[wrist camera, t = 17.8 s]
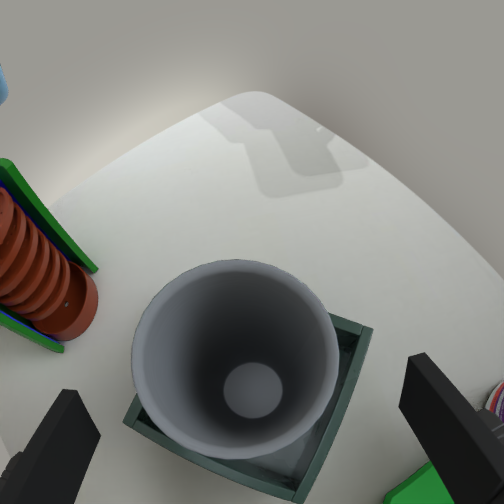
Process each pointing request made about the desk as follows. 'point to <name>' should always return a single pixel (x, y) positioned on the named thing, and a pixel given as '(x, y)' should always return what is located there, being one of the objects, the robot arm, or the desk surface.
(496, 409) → the pill bottle
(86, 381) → the desk surface
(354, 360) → the holder
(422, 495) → the bracket
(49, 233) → the coaster caddy
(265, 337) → the cup
